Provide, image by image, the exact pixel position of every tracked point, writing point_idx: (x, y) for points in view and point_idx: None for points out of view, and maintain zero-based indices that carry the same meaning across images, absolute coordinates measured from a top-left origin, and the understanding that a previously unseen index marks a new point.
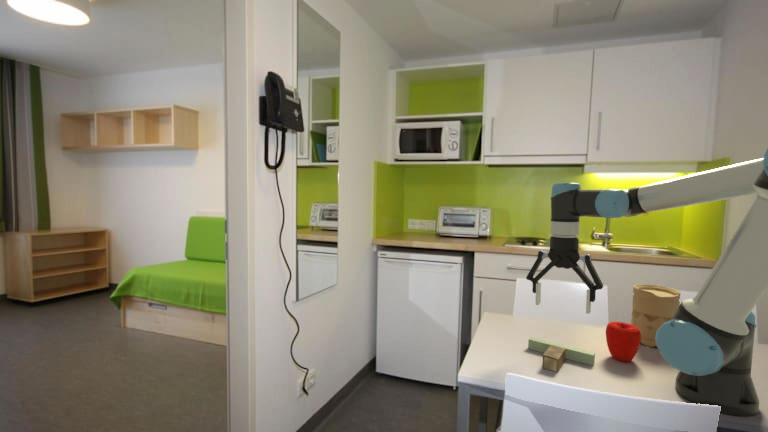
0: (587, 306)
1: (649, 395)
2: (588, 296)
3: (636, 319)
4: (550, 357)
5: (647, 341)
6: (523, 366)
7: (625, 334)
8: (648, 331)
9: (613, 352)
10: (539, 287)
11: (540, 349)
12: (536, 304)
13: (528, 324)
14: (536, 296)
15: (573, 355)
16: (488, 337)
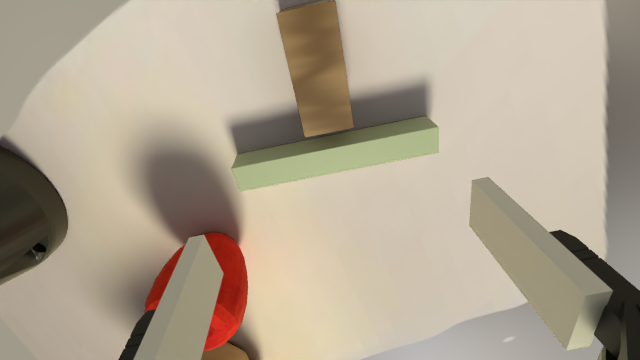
0: (185, 267)
1: (48, 90)
2: (153, 328)
3: None
4: (305, 6)
5: (216, 351)
6: None
7: (163, 286)
8: None
9: (219, 239)
10: (546, 284)
11: (388, 127)
12: (483, 179)
13: (481, 274)
14: (517, 210)
15: (289, 150)
16: (571, 94)
